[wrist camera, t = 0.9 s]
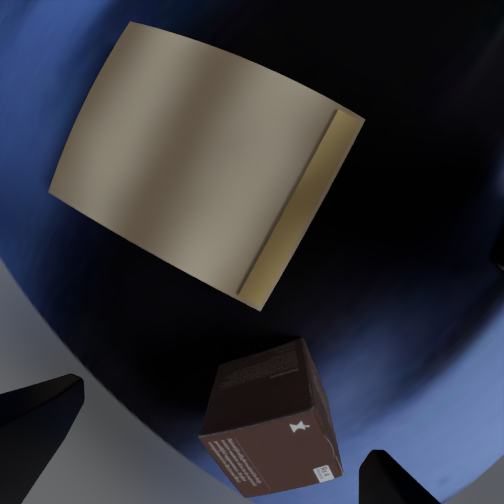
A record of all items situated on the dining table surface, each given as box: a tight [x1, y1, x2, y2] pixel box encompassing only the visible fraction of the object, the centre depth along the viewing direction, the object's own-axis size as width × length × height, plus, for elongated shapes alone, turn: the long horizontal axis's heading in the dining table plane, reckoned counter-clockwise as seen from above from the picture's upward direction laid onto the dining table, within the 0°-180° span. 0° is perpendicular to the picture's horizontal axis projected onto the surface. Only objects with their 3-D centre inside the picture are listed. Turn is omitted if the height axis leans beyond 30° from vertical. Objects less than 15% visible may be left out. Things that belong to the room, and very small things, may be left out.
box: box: [198, 338, 344, 498], centre depth 17 cm, size 6×6×7 cm
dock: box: [49, 22, 365, 311], centre depth 16 cm, size 14×11×3 cm
